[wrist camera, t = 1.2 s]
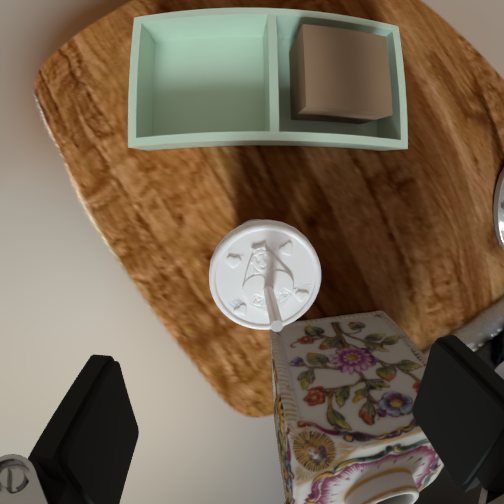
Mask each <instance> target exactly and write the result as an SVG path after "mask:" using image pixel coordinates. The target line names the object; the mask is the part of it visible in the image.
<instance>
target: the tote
mask: <svg viewBox="0 0 504 504" xmlns="http://www.w3.org/2000/svg"><path fill="white" fill-rule="evenodd" d="M302 24H307V25H317V26H326V27H334V28H341V29H348V30H354V31H360V32H365V33H370V34H376V35H380V36H385V37H386V41H387V50H388V59H389V69H390V81H391V95H392V114H393V115H391V116H387V117H384V118H380V119H377V120H374V121H370V122H367V123H364V124H351V123H339V122H325V121H307V120H291V107H290V71H289V51H290V49H291V47H292V45H293V43H294V41H295V39H296V36H297V34H298V32H299V30H300V28H301V26H302ZM247 145H278V146H316V147H337V148H353V149H366V150H378V151H384V150H399V149H408V128H407V105H406V89H405V77H404V67H403V58H402V49H401V42H400V35H399V28H398V26H394V25H390V24H386V23H382V22H377V21H372V20H368V19H362V18H357V17H351V16H345V15H339V14H332V13H324V12H316V11H307V10H295V9H280V8H213V9H198V10H186V11H177V12H168V13H161V14H154V15H148V16H142V17H136V18H134V25H133V35H132V46H131V59H130V75H129V99H128V147H129V148H136V149H142V150H159V149H173V148H189V147H209V146H247Z"/></svg>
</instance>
